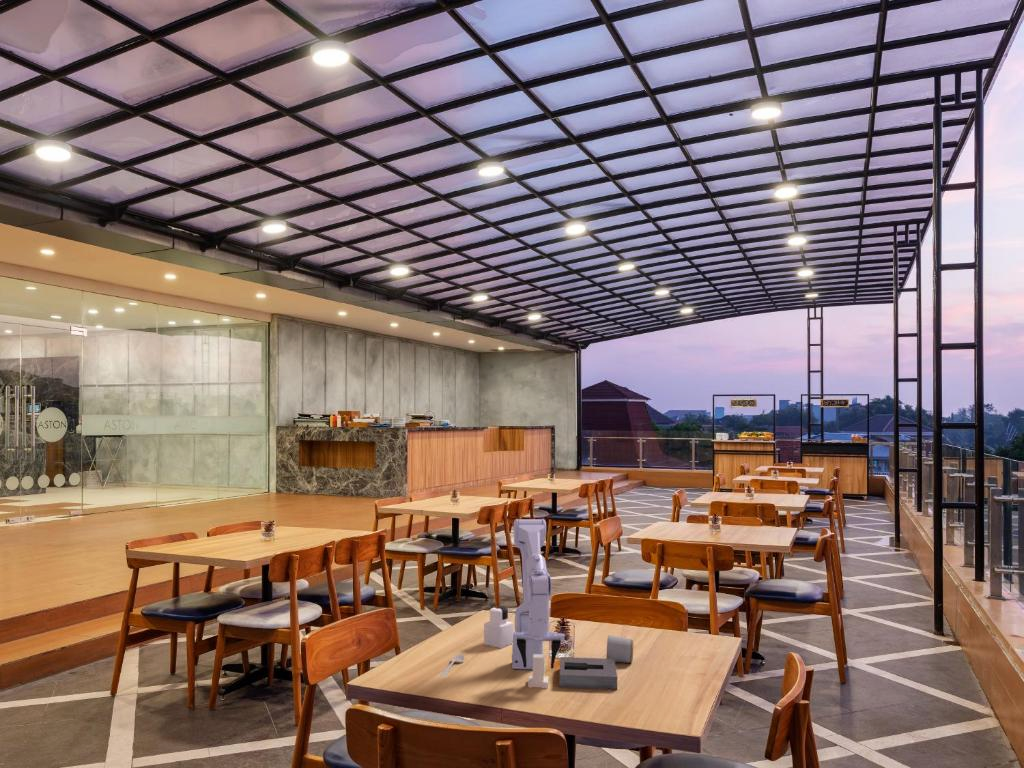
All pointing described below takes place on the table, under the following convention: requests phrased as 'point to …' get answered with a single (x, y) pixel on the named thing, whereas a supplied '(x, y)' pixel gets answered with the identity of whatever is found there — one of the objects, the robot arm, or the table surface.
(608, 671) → the keyhole plate
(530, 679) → the peg
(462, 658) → the spoon
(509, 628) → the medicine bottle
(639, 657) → the table surface
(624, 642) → the ceramic mug
